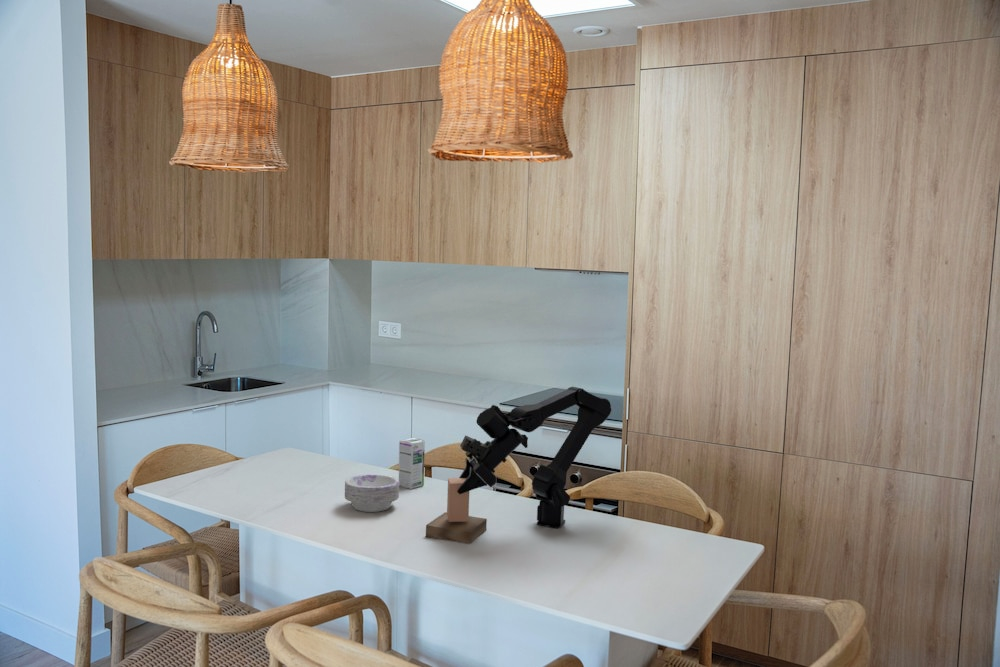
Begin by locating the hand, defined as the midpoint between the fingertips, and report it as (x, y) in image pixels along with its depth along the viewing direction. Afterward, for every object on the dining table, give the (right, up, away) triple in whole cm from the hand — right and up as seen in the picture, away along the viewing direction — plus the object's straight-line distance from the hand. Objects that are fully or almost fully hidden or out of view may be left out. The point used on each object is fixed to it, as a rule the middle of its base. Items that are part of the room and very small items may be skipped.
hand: (457, 489), depth 211 cm
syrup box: (-17, -7, +43) cm, 47 cm away
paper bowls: (-25, -9, +20) cm, 33 cm away
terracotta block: (0, -8, +1) cm, 8 cm away
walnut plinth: (0, -12, +1) cm, 12 cm away
